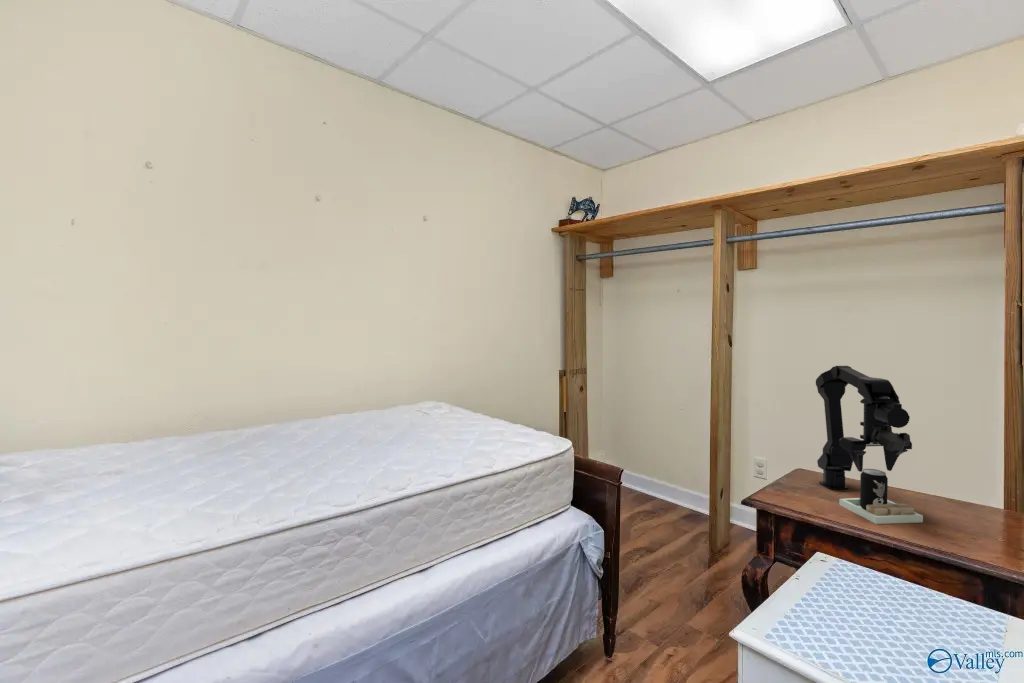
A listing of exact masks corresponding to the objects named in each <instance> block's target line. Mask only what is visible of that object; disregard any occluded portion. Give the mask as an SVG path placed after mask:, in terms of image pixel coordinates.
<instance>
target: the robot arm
mask: <svg viewBox="0 0 1024 683" xmlns="http://www.w3.org/2000/svg"><path fill="white" fill-rule="evenodd" d="M848 385H851V386H853V387H855V388H856V389H857V393H858V394H859V395H860V396H861V397H863V398H862V399H861V400H860V404H863V421H860V422H859V424H860V426H862V427H863V431H862V432H863V433H862V434H859V438H856V437H853V436H846V437H845V434H844V423H843V412H842V402H841V400H842V398H843V396H844V395H845V394H846V388H847V386H848ZM815 386H816V388H817V393H818V394H819V395H820V397H821V398H822V399H823V404H824V416H825V427H826V428H825V429H826V438H827V441H826V442H825V444H824V446H823V447H822V454H821V455H820V457H819V458H818V459H817V462H816V463H817V467H818V468H820V469H821V470H823V476H822V478H823V481H818V483H819V484H820V485H823V486H824V487H826V488H829V489H830V490H849V489H850V487H849V486H847V485H846V472H851V471H852V467H853V463H854V465H855V468H856V470H857V471H858V472H860V473H862V472H863V471H862V470H863V469H864V468H863V465H864V455H866V453H867V451H865V450H866V449H867V447H882V448H883V456H884V461H885V462H884V463H885V467H886V470H887V471H889V472H892V470H893V468H894V466H895V464H896V462H897V460H898V458H899V457H900V455H902V454H904V453H906V452H909V450H913V443H912V441H911V435H910V434H909V433H907V432H899V433H898V432H893V430H892V429H893V428H896V429H899V428H904V427H906V426H907V425H908V424H909V422H910V419H911V418H910V415H909V413H908V411H906V409H904V408H903V405H902V403H901V401H900V400H899V399H900V396H898V393H896V391H895V390H896V389H895V387H894V386H893V385H892V383H891V381H889V379H884V378H882V377H881V378H880V377H870V376H869V375H866V374H864V373H862V372H859V371H858V370H856V369H853V368H852V366H849V365H835V366H831V368H830V369H829V370H827V371H824V372H822V373H820V374H819V375H818V376H817V378H816V379H815Z"/></svg>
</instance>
